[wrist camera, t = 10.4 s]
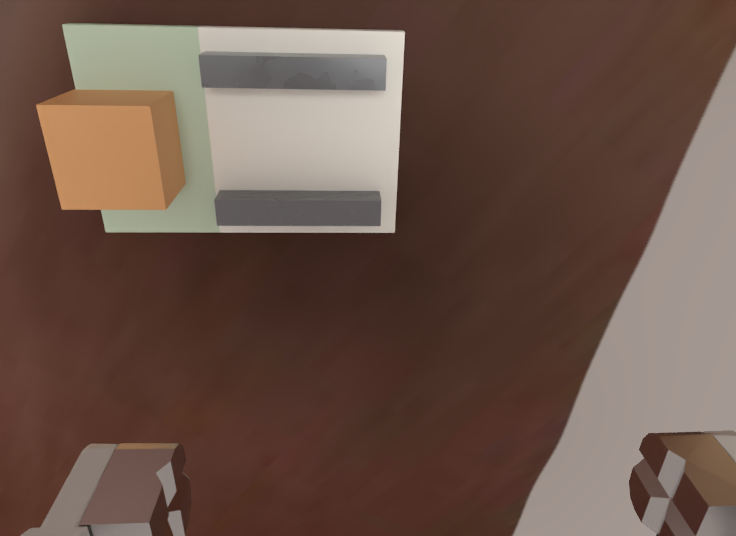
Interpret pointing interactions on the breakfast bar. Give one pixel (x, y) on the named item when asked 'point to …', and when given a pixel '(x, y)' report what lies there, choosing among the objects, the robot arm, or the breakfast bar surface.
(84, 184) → the orange block
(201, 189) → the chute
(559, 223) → the breakfast bar surface
